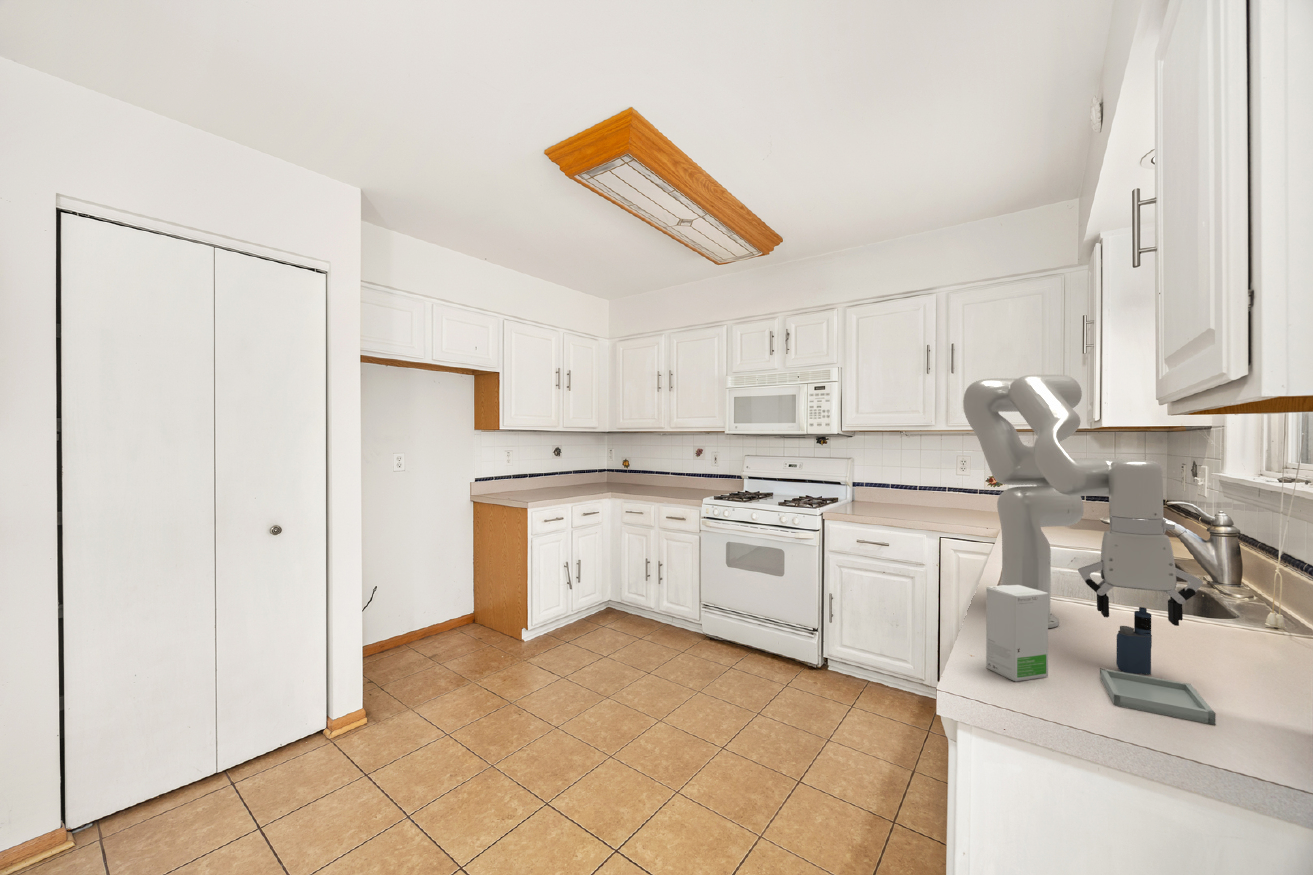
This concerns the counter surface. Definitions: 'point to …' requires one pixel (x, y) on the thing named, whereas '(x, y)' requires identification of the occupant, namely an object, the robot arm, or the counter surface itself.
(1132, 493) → the robot arm
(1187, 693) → the tray
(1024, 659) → the skincare box
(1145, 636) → the vaping device
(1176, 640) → the counter surface
